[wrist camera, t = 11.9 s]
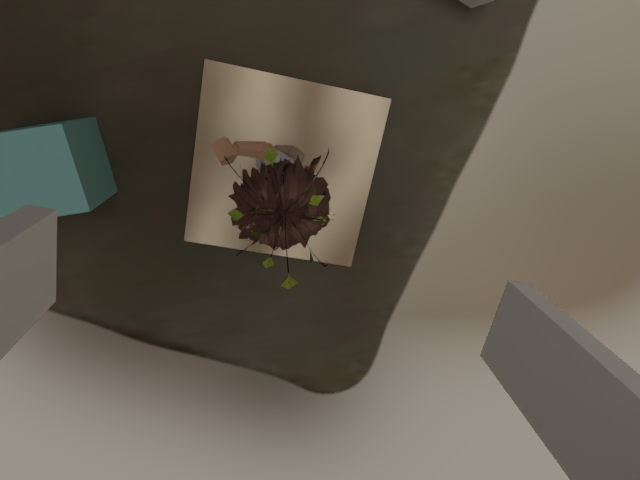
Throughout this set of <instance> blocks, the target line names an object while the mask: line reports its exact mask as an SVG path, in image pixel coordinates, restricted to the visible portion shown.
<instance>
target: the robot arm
mask: <svg viewBox="0 0 640 480" xmlns="http://www.w3.org/2000/svg"><path fill="white" fill-rule="evenodd" d="M56 260H57V209H51V208H44V207H38V206H32V205H25V206H23V207H21V208H19V209H17V210H15V211H14V212H12V213H10V214H8V215H6V216H4V217H3V218H1V219H0V360H1V358H3V356H4V355H5V354H6V353H7V352H8V351H9V350H10V349H11V348H12V347H13V346H14V345H15V344H16V343H17V342H18V341H19V339H21V337H22V336H23V335H24V334H25V333H26V332H27V331H28V330H29V329H30V328H31V327H32V326H33V325H34V324H35V323H36V322H37V321H38V319H39V318H40V317H41V316H42V315H43V314H44V313H45V312H46V311H47V310H48V309H49V308H50V307H51V306H52V305H53V304H54V303H55V302H56ZM480 356H481V357H482V358H483V360H484V361H485V362H486V364H487V365H488V367H489V368H490V369H491V371H492V372H493V374H494V375H495V376H496V378H497V379H498V380H499V382H500V383H501V384H502V386H503V387H504V389H505V390H506V392H507V393H508V394H509V396H510V397H511V398H512V400H513V401H514V403H515V404H516V405H517V407H518V408H519V410H520V411H521V412H522V413H523V415H524V416H525V418H526V419H527V421H528V422H529V423H530V425H531V426H532V428H533V429H534V430H535V432H536V433H537V434H538V436H539V437H540V438H541V440H542V441H543V443H544V444H545V446H546V447H547V448H548V450H549V451H550V452H551V454H552V455H553V457H554V458H555V459H556V460H557V462H558V464H559V465H560V466H561V468H562V469H563V470H564V472H565V473H566V475H567V476H568V477H569V479H570V480H640V375H639V374H638V373H637V372H636V371H634V370H633V369H632V368H631V367H630V366H629V365H627V364H626V363H625V362H624V361H623V360H621V359H620V358H619V357H618V356H617V355H615V354H614V353H613V352H612V351H611V350H609V349H608V348H607V347H605V345H603V344H602V343H601V342H600V341H599V340H597V339H596V338H595V337H594V336H592V335H591V334H590V333H589V332H588V331H587V330H585V329H584V328H583V327H582V326H580V325H579V324H578V323H577V322H576V321H575V320H573V319H572V318H571V317H570V316H569V315H567V314H566V313H565V312H564V311H562V310H561V309H560V308H559V307H558V306H557V305H555V304H554V303H553V302H552V301H551V300H549V299H548V298H547V297H546V296H545V295H543V294H542V293H541V292H540V291H539V290H537V289H536V288H535V287H534V286H533V285H531V284H529V283H523V282H516V281H509V280H508V282H507V284H506V288H505V290H504V293H503V295H502V298H501V301H500V303H499V306H498V309H497V311H496V314H495V317H494V320H493V322H492V325H491V328H490V330H489V333H488V336H487V339H486V341H485V344H484V346H483V349H482V352H481V355H480Z"/></svg>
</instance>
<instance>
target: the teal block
mask: <svg viewBox="0 0 640 480" xmlns="http://www.w3.org/2000/svg"><path fill="white" fill-rule="evenodd" d="M117 192H118V190H117V187H116V183H115V180H114V177H113V173H112V170H111V167H110V163H109V160H108V157H107V153H106V150H105V147H104V143H103V140H102V137H101V133H100V130H99V127H98V123H97V120H96V117H95V116H94V117H87V118H81V119H74V120H67V121H61V122H54V123H47V124H40V125H34V126H27V127H20V128H14V129H9V130H4V131H0V219H1V218H3V217H4V216H6V215H8V214H10V213H12V212H14V211H15V210H17V209H19V208H21V207H23V206H25V205H32V206H38V207H44V208H51V209H57V217H58V216H65V215H71V214H78V213H84V212H90V211H92V210H93V209H94V208H96V207H97V206H99V205H100V204H101V203H103V202H104V201H105V200H107V199H108V198H110V197H111V196H112V195H114V194H115V193H117Z"/></svg>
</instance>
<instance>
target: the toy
mask: <svg viewBox="0 0 640 480" xmlns="http://www.w3.org/2000/svg"><path fill="white" fill-rule="evenodd" d="M211 147H212V149H213V150H214V152H215V154H216V156H217V158H218V159H219V161H220V163H221V165H222V166H224V165H227V164H229V165H230V163H233V162H234V160H235V159H236V157H237V156H238V155H240V156H246V157H252V158H256V166H257V167H259V168H258V170H257V169H255V168H253V167H252V169H251V177H250V176H249V175H248V172H247V170H246V169H242V177H243V180H242V177H240V176H239V175H238V174H237V172H235V170H234V169H233V168H232V166H231V165H230V167H231V168H232V169H233V170H234V172H235V173H236V174H237V175H238V176H239V177H240V178H241V180H242V181H243V184H242V183H241V187H240V185H239V184H238V183H237V182H236V181H235V182H234V184H233V190H234V194H232V195H229V196H228V197H230V198H231V199H232V200H234V201H235V203H236V205H237V208H235V209H233V210H231V211H230V212H228V214H229V215H230V216H231V220H232V226H234V225H238V226H237V227H238V228H239V229H240V230H241V232H240V234H239V239H248V238H249V239H248V240H252V241H254V242H253V243H252V244H250V245H249V246H250V247H251V245H253V244H255V243H256V242H258V241H259V242H260V244H266V245H268V246H270V247H271V248H272V249H273V250H276V249H278V248H279V247H280V248H281V249H282V250H285V249H286V254H287V249H289V248H290V247H292V245H293V246H294V245H297V244H298V243H301V244H302V245H303V247H304V248H306V245H308V244H307V243H308V240H309V238H310V236H312V235H317V234H318V231H321V230H322V228H323V227H326V226H327V224H328V223H329V221H330V218H329V217H328V216H327V215H329V210H330V209H329V201H330V199H331V197H330V193H329V189H328V188H327V186H328V183H327V182H326V180H325V179H324V177H319V178H318V177H317V175H318V173H319V172H320V170H321V169H322V167H323V165H324V164H325V161H326V159H327V157H328V154H329V148H328V153H327V155H326V158H325V161H323V165H322V167H321V168H320V170H319V172H318V173H316V174H317V175H314V172H315V170H316V168H317V165H318V164H319V161H320V159H321V156H322V155H321V156H319V157H317V158H314V159H313V160H312V162H311V164H310V165H309V167H308V166H305V168H304V167H303V166H302V162H303V159H304V156H305V154H304V153H303V152H302V151H301V150H300V149H298V148H297V147H295V146H294V145H289V146H288V145H275V146H274V147H273V145H272V144H271V143H267V142H265V141H263V142H260V141H235V142H234V143H233V144H231V142H230V141H229V139H227V138H226V137H222V138H220V139H218V140H216V141H214V142H213V143H212V144H211ZM233 165H234V164H233ZM240 166H241V165H240ZM317 169H318V168H317ZM320 173H321V172H320ZM320 173H319V174H320ZM232 176H233V175H232ZM333 215H335V214H333ZM333 215H332V216H333ZM332 220H333V219H332ZM333 221H334V220H333ZM322 234H323V233H322ZM248 240H247V241H248ZM244 241H246V240H244ZM309 244H310V243H309ZM249 246H248V247H249ZM248 247H247V248H248ZM259 247H260V246H259ZM276 247H277V248H276ZM308 247H309V246H308ZM247 248H246V249H247ZM246 249H244V250H246ZM309 249H310V248H309ZM244 250H236V251H241V252H240V253H242V252H243V251H244ZM310 250H311V249H310ZM253 251H254V250H253ZM261 251H262V250H261ZM311 252H312V251H310V262H313V257H312V254H311ZM240 253H238V254H237V255H239V254H240ZM259 253H260V249H259ZM272 253H273V251H272ZM312 253H313V252H312ZM313 255H314V256H315V254H313ZM271 256H272V254H271ZM315 257H316V256H315ZM316 258H317V257H316ZM317 259H318V258H317ZM318 262H320V260H318ZM326 262H328V261H326ZM262 263H263V265H264V266H265V268H267V267H270V266H272V265H274V262H273V260H272V258H271V257H269V258H268V259H266V260H265V261H263V262H262ZM320 263H321V262H320ZM317 264H318V263H317ZM321 264H322V263H321ZM322 265H324V264H322ZM326 266H327V265H326ZM287 267H288V256H287ZM324 267H325V265H324ZM296 283H298V282H297V281H295V280H294V279H293V278H291V277H290V276H289V267H288V277H287V278H286V279H285V281H284V282H283V283H282V284H281V286H282V287H285V288H287V289H290V288H292V287H293V286H294V285H295V284H296Z"/></svg>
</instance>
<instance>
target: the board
mask: <svg viewBox="0 0 640 480" xmlns="http://www.w3.org/2000/svg"><path fill="white" fill-rule="evenodd" d="M390 103H391V99H389V98H384V97H380V96H375V95H370V94H366V93H361V92H357V91H352V90H347V89H343V88H338V87H333V86H329V85H324V84H319V83H315V82H310V81H305V80H301V79H296V78H291V77H287V76H282V75H277V74H273V73H268V72H263V71H259V70H254V69H249V68H245V67H240V66H235V65H231V64H226V63H222V62H217V61H212V60H208V59H205V61H204V70H203V79H202V87H201V96H200V105H199V114H198V122H197V131H196V140H195V149H194V157H193V166H192V175H191V184H190V193H189V201H188V210H187V219H186V228H185V236H184V241H189V242H195V243H201V244H208V245H214V246H221V247H227V248H234V249H240V250H244V249H246V248H247V247H248V246H249V245H250V244H252V243H253V242H254V241H252V240H248V239H249V238H248V239H239V234H240V232H241V230H240V229H239V228H238V227H237V226H238V225H234V226H232V220H231V216H230V215H229V214H228V212H230V211H231V210H233V209H235V208H237V205H236V203H235V201H234V200H232V199H231V198H230V197H228V196H229V195H232V194H234V190H233V184H234V182H235V181H236V182H237V183H238V184H239V185H240V187H241V183H242V184H243V181H242V180H243V177H242V169H246V170H247V172H248V175H249V176H250V177H251V169H252V167H253V168H255V169H257V170H258V168H259V167H257V166H256V158H252V157H246V156H240V155H238V156H237V157H236V159H235V160H234V162H233V163H230V165H231V166H232V168H233V169H234V170H235V172H237V174H238V175H239V176H240V177H242V180H241V178H240V177H239V176H238V175H237V174H236V173H235V172H234V170H233V169H232V168H231V167H230V165H229V164H227V165H224V166H222V165H221V163H220V161H219V159H218V158H217V156H216V154H215V152H214V150H213V149H212V147H211V144H212V143H213V142H214V141H216V140H218V139H220V138H222V137H226V138H227V139H229V141H230V142H231V144H233V143H234V142H235V141H260V142H263V141H265V142H267V143H271V144H272V145H273V147H274V146H275V145H288V146H289V145H294V146H295V147H297V148H298V149H300V150H301V151H302V152H303V153H304V154H305V156H304V159H303V162H302V166H303V167H304V168H305V166H308V167H309V165H310V164H311V162H312V160H313V159H314V158H317V157H319V156H321V155H322V156H321V159H320V161H319V164H318V165H317V168H318V169H317V168H316V170H315V172H314V175H317V174H316V173H318V172H319V170H320V168H321V167H322V165H323V161H325V158H326V155H327V153H328V148H329V154H328V157H327V159H326V161H325V164H324V165H323V167H322V169H321V170H320V172H321V173H320V172H319V173H320V174H319V173H318V175H317V177H318V178H319V177H324V179H325V180H326V182H327V183H328V186H327V188H328V189H329V193H330V197H331V199H330V201H329V209H330V210H329V215H327V216H328V217H329V218H330V221H329V223H328V224H327V226H326V227H323V228H322V230H321V231H318V234H317V235H312V236H310V238H309V240H308V243H307V244H308V245H306V248H304V247H303V245H302V244H301V243H298V244H297V245H294V246H293V245H292V247H290V248H289V249H287V254H286V249H285V250H282V249H281V248H280V247H279V248H278V249H276V250H273V249H272V248H271V247H270V246H268V245H266V244H260V242H259V241H258V242H256V243H255V244H253V245H251V247H250V246H249V247H248V248H247V249H246V250H247V251H253V250H254V251H253V252H259V249H260V253H266V254H272V255H279V256H285V257H287V256H288V257H292V258H298V259H304V260H310V251H312V252H313V253H312V252H311V254H312V257H313V261H317V262H318V260H320V262H324V263H330V264H337V265H343V266H350V267H351V264H352V260H353V256H354V252H355V248H356V244H357V240H358V235H359V231H360V227H361V223H362V219H363V215H364V211H365V206H366V202H367V198H368V194H369V190H370V186H371V182H372V178H373V173H374V169H375V165H376V161H377V157H378V153H379V149H380V144H381V140H382V136H383V132H384V128H385V124H386V120H387V115H388V111H389V107H390ZM233 164H234V165H233ZM240 165H241V166H240ZM232 175H233V176H232ZM333 214H335V215H333ZM332 215H333V216H332ZM332 219H333V220H334V221H333V220H332ZM322 233H323V234H322ZM244 240H246V241H244ZM247 240H248V241H247ZM309 243H310V244H309ZM259 246H260V247H259ZM308 246H309V247H308ZM276 248H277V247H276ZM309 248H310V249H311V250H310V249H309ZM261 250H262V251H261ZM272 251H273V253H272ZM313 254H315V256H316V257H317V258H318V259H317V258H316V257H315V256H314V255H313ZM326 261H328V262H326Z"/></svg>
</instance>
